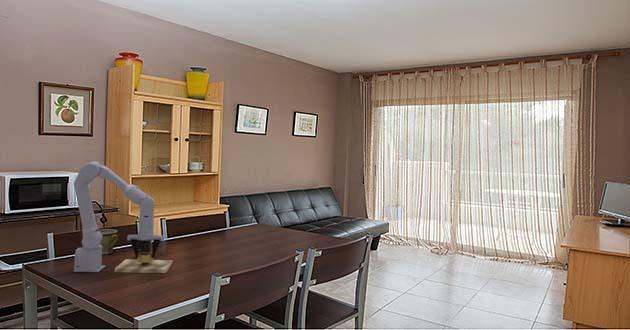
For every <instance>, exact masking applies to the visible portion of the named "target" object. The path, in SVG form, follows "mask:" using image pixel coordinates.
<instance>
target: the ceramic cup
mask: <svg viewBox="0 0 630 330" xmlns="http://www.w3.org/2000/svg"><path fill="white" fill-rule="evenodd" d="M99 231H100V232H101V233H102V236H103V237H102V240H101V242H100V244H101V246H102V255H110V254H113V251H114V247H115V243H116V242H117V241H118V240H119V236H118V230H117V229H111V228H110V229H108V228H107V229H106V228H105V229H99Z"/></svg>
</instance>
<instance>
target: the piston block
mask: <svg viewBox="0 0 630 330" xmlns="http://www.w3.org/2000/svg"><path fill="white" fill-rule="evenodd" d="M142 255H149V253H142ZM173 263H174V260H173V259H172V260H171V259H153V261H151V262H146V263H141V262H138V261H137V259H135V258H134V259H133V258H132V259H130V258H129V259H127V258H126V259H124V260H123V261H122V262H121V263H120V264H119V265H117V266H115V268H114V273H138V274H139V273H144V274H145V273H147V274H148V273H149V274H156V273H157V274H167V272H168V271H169V270H170V268H171V266H172V265H173Z"/></svg>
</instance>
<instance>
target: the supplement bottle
mask: <svg viewBox="0 0 630 330" xmlns="http://www.w3.org/2000/svg"><path fill="white" fill-rule="evenodd" d="M152 242H153V241H152V240H140V242H139V253H140V252H152ZM134 257H135V256H134ZM134 259H137V258H136V257H135V258H134Z"/></svg>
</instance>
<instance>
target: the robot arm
mask: <svg viewBox="0 0 630 330" xmlns="http://www.w3.org/2000/svg"><path fill="white" fill-rule="evenodd" d="M95 178H98V179H103V180H107V181H109V182H110V183H112V184H113V185H115V186H116V187H118V188H119V189H120V190H122V191H123V196H124V197H125V198H127V199H128V200H129V201H131V202H132V203H134V204H135V205H138V208H139V210H140V212H139V215H138V216H139V218H138V220H139V221H138V223H139V224H138V234H128V235H127V239H126V240H127V241H130V245H131V247H132V248H133V251H134V257H136V258H135V259H137V254H138V253H139V242H140V240H152V245H151V252H152V258H153V259H154V258H155V257H156V252H157V250H158V247H159V245H160V243H161V242H164V241H165V235H157V234H154V227H155V225H154V224H155V223H154V222H155V214H154V212H155V200H154V198H153V197H152V195H151V196H150V195H149V194H148V193H147V192H144V191H143V190H141V189H140V186H138V185H135V184H128V183H127V182H126V181H125V180H124V179H122V178H121V177H120V176H118V175H117V173H115V172H114V171H112V170H111V169H110V168H109V167H107V166H105V165H103V164H102V163H101V162H99V161H97V160H93V161H90V162H89V161H88V162H86V163H84V164H83V165H82V166H81V167H80V168H79V171H78V173H77V175H76V178H75V180H74V182H73V187H74V191H75V192H74V193H75V196H76V200H77V205H78V209H79V210H78V211H79V215H80V220H81V224H82V225H81V226H82V239H81V245H82V247H77V248H76V250H75V253H74V263H73V265H74V267H73V272H75V273H77V272H78V273H79V272H80V273H81V272H83V273H99V272H100V271H102V270H103V269H104V268H105V267H106V265H102V263H103V262H102V261H103V260H102V256H103V254H102V246H101V244H100V242H101V240H102V237H103V236H102V233H101V232H100V231H99V230H100V229H99V226H98V223H97V221H96V217H95V213H94V212H95V211H94V207H93V203H92V197H91V192H90V187H89V186H90V184H91V183H92V182H93V181H94V180H95Z"/></svg>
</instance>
